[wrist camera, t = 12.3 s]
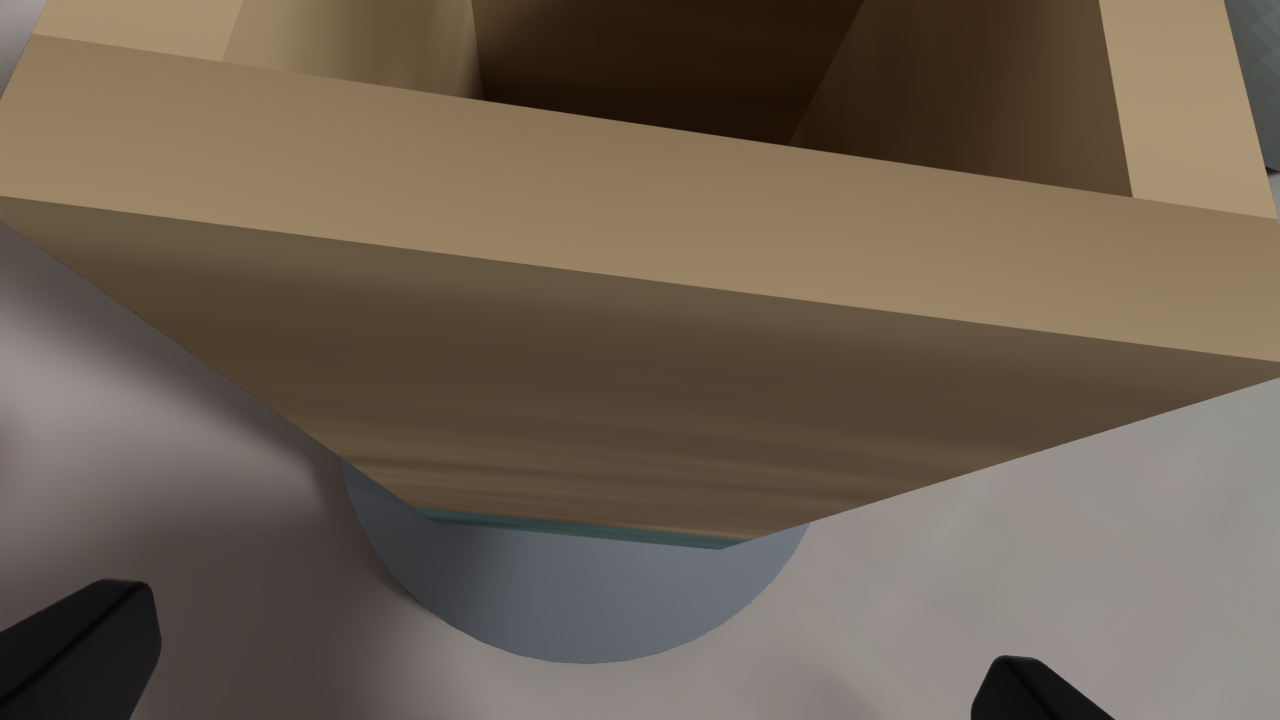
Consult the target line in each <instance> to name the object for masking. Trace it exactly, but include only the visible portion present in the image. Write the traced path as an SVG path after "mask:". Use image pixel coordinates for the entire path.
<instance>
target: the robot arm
mask: <svg viewBox="0 0 1280 720" xmlns="http://www.w3.org/2000/svg"><path fill="white" fill-rule="evenodd" d="M160 652H161V634H160V629H159V624H158V618H157V613H156V608H155V603H154V597H153V593H152V590H151V588H150V587H149V585H148V584H147V583H144V582H142V581H133V580H121V579H110V578H109V579H102V580H98V581H96V582H94V583H91V584H89V585H88V586H86V587H84V588H82V589H80V590H78V591H76V592H74V593H73V594H71V595H69V596H67V597H65V598H63V599H61V600H59V601H58V602H56V603H54V604H52V605H50V606H48V607H46V608H44V609H43V610H41V611H39V612H37V613H35V614H33V615H31V616H29V617H28V618H26V619H24V620H22V621H20V622H18V623H16V624H14V625H13V626H11V627H9V628H7V629H5V630H3V631H1V632H0V720H129V719H130V717H131V715H132V713H133V711H134V709H135V707H136V705H137V703H138V701H139V699H140V697H141V695H142V693H143V691H144V689H145V687H146V685H147V683H148V681H149V679H150V677H151V675H152V673H153V671H154V669H155V667H156V665H157V662H158V659H159V656H160ZM971 720H1115V719H1114V718H1112V717H1111V716H1110V715H1109V714H1107V713H1106V712H1105V711H1103V710H1102V709H1101V708H1100V707H1098V706H1097V705H1096V704H1095V703H1093V702H1092V701H1091V700H1090V699H1088V698H1087V697H1086V696H1084V695H1083V694H1082V693H1081V692H1079V691H1078V690H1077V689H1076V688H1074V687H1073V686H1072V685H1070V684H1069V683H1068V682H1067V681H1065V680H1064V679H1063V678H1062V677H1060V676H1059V675H1058V674H1057V673H1055V672H1054V671H1053V670H1051V669H1050V668H1049V667H1048V666H1046V665H1045V664H1044V663H1042V662H1041V661H1039V660H1037V659H1034V658H1031V657H1019V656H1008V655H1003V656H999V657H998V658H996V659H995V660H994V661H993V663H992V664H991V666H990V668H989V670H988V672H987V674H986V676H985V678H984V681H983V683H982V685H981V687H980V689H979V691H978V693H977V695H976V697H975V699H974V701H973V704H972V708H971Z"/></svg>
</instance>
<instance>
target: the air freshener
mask: <svg viewBox="0 0 1280 720" xmlns="http://www.w3.org/2000/svg"><path fill="white" fill-rule="evenodd" d="M1224 4H1225V8H1226V12H1227V16H1228V20H1229V24H1230V28H1231V32H1232V36H1233V40H1234V44H1235V48H1236V52H1237V56H1238V60H1239V64H1240V68H1241V72H1242V76H1243V80H1244V84H1245V88H1246V93H1247V97H1248V101H1249V105H1250V109H1251V113H1252V117H1253V121H1254V125H1255V129H1256V133H1257V137H1258V141H1259V145H1260V149H1261V153H1262V157H1263V161H1264V165H1265V166H1266V167H1268V168H1271V169H1274V170H1277V171H1280V0H1224Z"/></svg>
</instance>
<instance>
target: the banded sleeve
mask: <svg viewBox="0 0 1280 720" xmlns="http://www.w3.org/2000/svg"><path fill="white" fill-rule="evenodd" d="M0 220H1V221H3V222H4V223H5V224H7V225H8V226H10V227H11V228H13V229H14V230H16V231H17V232H18V233H20V234H21V235H23V236H24V237H26V238H27V239H28V240H30V241H31V242H33V243H34V244H36V245H37V246H38V247H40V248H41V249H43V250H44V251H46V252H47V253H49V254H50V255H51V256H53V257H54V258H56V259H57V260H59V261H60V262H61V263H63V264H64V265H66V266H67V267H69V268H70V269H71V270H73V271H74V272H76V273H77V274H79V275H80V276H81V277H83V278H84V279H86V280H87V281H89V282H90V283H92V284H93V285H94V286H96V287H97V288H99V289H100V290H102V291H103V292H104V293H106V294H107V295H109V296H110V297H112V298H113V299H114V300H116V301H117V302H119V303H120V304H122V305H123V306H125V307H126V308H127V309H129V310H130V311H132V312H133V313H135V314H136V315H137V316H139V317H140V318H142V319H143V320H145V321H146V322H147V323H149V324H150V325H152V326H153V327H155V328H156V329H158V330H159V331H160V332H162V333H163V334H165V335H166V336H168V337H169V338H170V339H172V340H173V341H175V342H176V343H178V344H179V345H180V346H182V347H183V348H185V349H186V350H188V351H189V352H190V353H192V354H193V355H195V356H196V357H198V358H199V359H201V360H202V361H203V362H205V363H206V364H208V365H209V366H211V367H212V368H213V369H215V370H216V371H218V372H219V373H221V374H222V375H223V376H225V377H226V378H228V379H229V380H231V381H232V382H234V383H235V384H236V385H238V386H239V387H241V388H242V389H244V390H245V391H246V392H248V393H249V394H251V395H252V396H254V397H255V398H256V399H258V400H259V401H261V402H262V403H264V404H265V405H267V406H268V407H269V408H271V409H272V410H274V411H275V412H277V413H278V414H279V415H281V416H282V417H284V418H285V419H287V420H288V421H289V422H291V423H292V424H294V425H295V426H297V427H298V428H299V429H301V430H302V431H304V432H305V433H307V434H308V435H310V436H311V437H312V438H314V439H315V440H317V441H318V442H320V443H321V444H322V445H324V446H325V447H327V448H328V449H330V450H331V451H332V452H334V453H335V454H337V455H338V456H340V457H341V458H343V459H344V460H345V461H347V462H348V463H350V464H351V465H353V466H354V467H355V468H357V469H358V470H360V471H361V472H363V473H364V474H365V475H367V476H368V477H370V478H371V479H373V480H374V481H376V482H377V483H378V484H380V485H381V486H383V487H384V488H386V489H387V490H388V491H390V492H391V493H393V494H394V495H396V496H397V497H398V498H400V499H401V500H403V501H404V502H406V503H407V504H408V505H410V506H411V507H413V508H414V509H416V510H417V511H419V512H420V513H421V514H423V515H424V516H426V517H427V518H429V519H430V520H431V521H433V522H436V523H446V524H456V525H466V526H477V527H487V528H497V529H508V530H518V531H528V532H538V533H549V534H559V535H569V536H579V537H590V538H600V539H610V540H621V541H631V542H641V543H651V544H662V545H672V546H682V547H692V548H703V549H713V550H721V549H724V548H728V547H731V546H734V545H737V544H741V543H744V542H747V541H750V540H754V539H757V538H760V537H763V536H767V535H770V534H773V533H776V532H780V531H783V530H786V529H789V528H792V527H796V526H799V525H802V524H805V523H809V522H812V521H815V520H818V519H822V518H825V517H828V516H831V515H835V514H838V513H841V512H844V511H848V510H851V509H854V508H857V507H861V506H864V505H867V504H870V503H874V502H877V501H880V500H883V499H887V498H890V497H893V496H896V495H900V494H903V493H906V492H909V491H913V490H916V489H919V488H922V487H926V486H929V485H932V484H935V483H938V482H942V481H945V480H948V479H951V478H955V477H958V476H961V475H964V474H968V473H971V472H974V471H977V470H981V469H984V468H987V467H990V466H994V465H997V464H1000V463H1003V462H1007V461H1010V460H1013V459H1016V458H1020V457H1023V456H1026V455H1029V454H1033V453H1036V452H1039V451H1042V450H1046V449H1049V448H1052V447H1055V446H1059V445H1062V444H1065V443H1068V442H1072V441H1075V440H1078V439H1081V438H1084V437H1088V436H1091V435H1094V434H1097V433H1101V432H1104V431H1107V430H1110V429H1114V428H1117V427H1120V426H1123V425H1127V424H1130V423H1133V422H1136V421H1140V420H1143V419H1146V418H1149V417H1153V416H1156V415H1159V414H1162V413H1166V412H1169V411H1172V410H1175V409H1179V408H1182V407H1185V406H1188V405H1192V404H1195V403H1198V402H1201V401H1205V400H1208V399H1211V398H1214V397H1218V396H1221V395H1224V394H1227V393H1230V392H1234V391H1237V390H1240V389H1243V388H1247V387H1250V386H1253V385H1256V384H1260V383H1263V382H1266V381H1269V380H1273V379H1276V378H1279V377H1280V225H1279V221H1278V217H1277V213H1276V209H1275V205H1274V201H1273V197H1272V193H1271V189H1270V185H1269V181H1268V177H1267V173H1266V169H1265V165H1264V161H1263V157H1262V153H1261V149H1260V145H1259V141H1258V137H1257V133H1256V129H1255V125H1254V121H1253V117H1252V113H1251V109H1250V105H1249V101H1248V97H1247V93H1246V88H1245V84H1244V80H1243V76H1242V72H1241V68H1240V64H1239V60H1238V56H1237V52H1236V48H1235V44H1234V40H1233V36H1232V32H1231V28H1230V24H1229V20H1228V16H1227V12H1226V8H1225V4H1224V0H47V2H46V4H45V6H44V8H43V10H42V12H41V15H40V17H39V19H38V21H37V23H36V25H35V27H34V29H33V32H32V34H31V36H30V38H29V40H28V42H27V44H26V46H25V49H24V51H23V53H22V55H21V57H20V59H19V61H18V63H17V65H16V68H15V70H14V72H13V74H12V76H11V78H10V80H9V82H8V85H7V87H6V89H5V91H4V93H3V95H2V97H1V99H0Z"/></svg>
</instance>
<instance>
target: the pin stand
mask: <svg viewBox="0 0 1280 720" xmlns="http://www.w3.org/2000/svg"><path fill="white" fill-rule="evenodd" d="M339 460H340V465H341V469H342V474H343V478H344V483H345V488H346V491H347V493H348V496H349V499H350V501H351V504H352V507H353V509H354V512H355V515H356V517H357V520H358V522H359V524H360V526H361V527H362V529H363V531H364V533H365V535H366V536H367V538H368V540H369V542H370V544H371V545H372V547H373V549H374V551H375V552H376V554H377V555H378V556H379V557H380V559H381V560H382V561H383V563H384V564H385V565H386V567H387V568H388V569H389V571H390V572H391V573H392V575H393V576H394V577H395V578H396V580H397V581H398V582H399V583H400V584H401V585H402V586H403V587H405V588H406V589H407V590H408V591H409V592H410V593H411V594H412V595H413V596H414V597H415V598H416V599H417V600H418V601H419V602H420V603H421V604H422V605H423V606H425V607H426V608H427V609H429V610H430V611H432V612H433V613H434V614H436V615H437V616H438V617H440V618H441V619H443V620H444V621H445V622H447V623H448V624H449V625H451V626H453V627H455V628H456V629H458V630H460V631H462V632H464V633H466V634H468V635H470V636H472V637H474V638H475V639H477V640H479V641H481V642H483V643H486V644H489V645H491V646H494V647H497V648H500V649H503V650H505V651H508V652H511V653H514V654H517V655H521V656H526V657H531V658H536V659H541V660H546V661H551V662H563V663H581V664H595V663H607V662H618V661H627V660H631V659H636V658H640V657H644V656H649V655H653V654H657V653H661V652H664V651H666V650H669V649H671V648H674V647H677V646H679V645H682V644H684V643H687V642H690V641H692V640H694V639H696V638H698V637H700V636H701V635H703V634H705V633H707V632H709V631H710V630H712V629H714V628H716V627H718V626H719V625H721V624H723V623H724V622H726V621H727V620H728V619H730V618H731V617H732V616H734V615H735V614H736V613H737V612H739V611H740V610H741V609H743V608H744V607H745V606H747V605H748V604H749V603H751V602H752V601H753V600H754V599H755V598H756V597H757V596H758V595H759V594H760V592H761V591H762V590H763V589H764V588H765V587H766V586H767V585H768V584H769V583H770V582H771V581H772V580H773V579H774V578H775V577H776V576H777V574H778V573H779V572H780V570H781V569H782V568H783V566H784V565H785V564H786V562H787V561H788V560H789V558H790V557H791V556H792V554H793V553H794V551H795V549H796V547H797V546H798V544H799V542H800V540H801V538H802V537H803V535H804V533H805V531H806V529H807V528H808V526H809V524H810V522H809V523H805V524H802V525H799V526H796V527H792V528H789V529H786V530H783V531H780V532H776V533H773V534H770V535H767V536H763V537H760V538H757V539H754V540H750V541H747V542H744V543H741V544H737V545H734V546H731V547H728V548H724V549H721V550H713V549H703V548H692V547H682V546H672V545H662V544H651V543H641V542H631V541H621V540H610V539H600V538H590V537H579V536H569V535H559V534H549V533H538V532H528V531H518V530H508V529H497V528H487V527H477V526H466V525H456V524H446V523H436V522H433V521H431V520H430V519H429V518H427V517H426V516H424V515H423V514H421V513H420V512H419V511H417V510H416V509H414V508H413V507H411V506H410V505H408V504H407V503H406V502H404V501H403V500H401V499H400V498H398V497H397V496H396V495H394V494H393V493H391V492H390V491H388V490H387V489H386V488H384V487H383V486H381V485H380V484H378V483H377V482H376V481H374V480H373V479H371V478H370V477H368V476H367V475H365V474H364V473H363V472H361V471H360V470H358V469H357V468H355V467H354V466H353V465H351V464H350V463H348V462H347V461H345V460H344V459H343V458H341V457H340V456H339Z"/></svg>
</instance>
